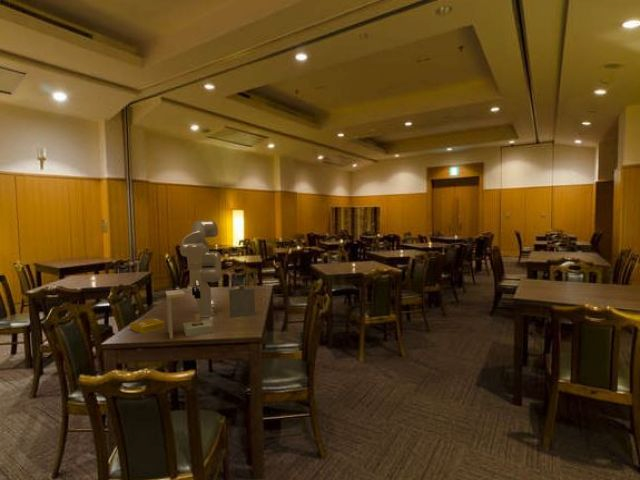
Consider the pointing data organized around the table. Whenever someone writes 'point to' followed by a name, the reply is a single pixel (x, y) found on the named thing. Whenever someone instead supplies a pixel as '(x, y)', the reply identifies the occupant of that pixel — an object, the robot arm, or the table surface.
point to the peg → (197, 317)
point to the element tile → (147, 325)
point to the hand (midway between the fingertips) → (196, 296)
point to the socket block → (188, 327)
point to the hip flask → (242, 302)
